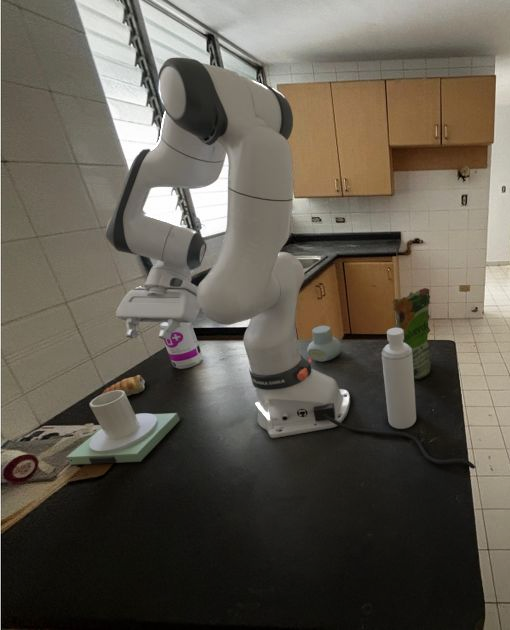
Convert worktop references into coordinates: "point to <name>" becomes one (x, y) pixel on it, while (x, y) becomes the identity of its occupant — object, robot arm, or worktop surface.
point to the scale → (125, 442)
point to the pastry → (128, 385)
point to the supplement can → (183, 346)
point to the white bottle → (399, 380)
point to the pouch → (415, 328)
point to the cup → (115, 414)
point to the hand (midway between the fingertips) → (146, 338)
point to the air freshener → (323, 344)
